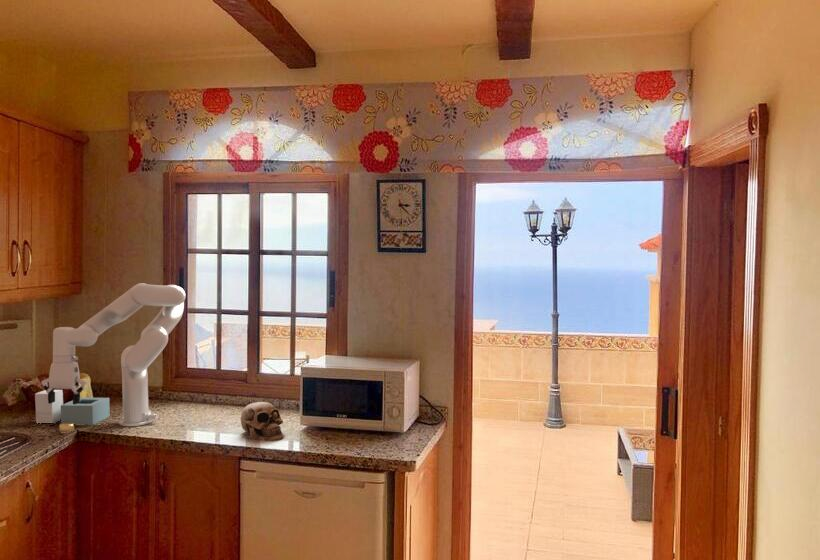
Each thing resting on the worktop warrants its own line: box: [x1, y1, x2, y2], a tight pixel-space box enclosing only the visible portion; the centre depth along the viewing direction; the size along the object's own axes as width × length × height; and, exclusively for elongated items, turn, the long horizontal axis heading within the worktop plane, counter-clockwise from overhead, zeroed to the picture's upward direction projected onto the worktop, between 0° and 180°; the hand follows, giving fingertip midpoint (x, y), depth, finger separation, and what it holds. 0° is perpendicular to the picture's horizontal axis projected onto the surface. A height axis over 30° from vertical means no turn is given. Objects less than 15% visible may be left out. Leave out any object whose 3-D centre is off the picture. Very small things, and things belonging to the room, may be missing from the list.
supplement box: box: [34, 389, 64, 425], centre depth 254 cm, size 7×7×13 cm
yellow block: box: [58, 422, 75, 433], centre depth 240 cm, size 5×5×3 cm
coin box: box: [60, 397, 111, 426], centre depth 255 cm, size 13×13×8 cm
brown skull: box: [240, 401, 284, 442], centre depth 236 cm, size 16×17×13 cm
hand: (63, 403), depth 239 cm, fingers open, 9 cm apart
